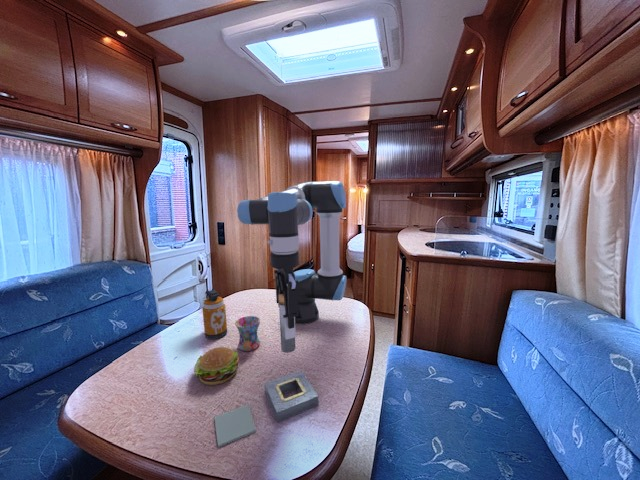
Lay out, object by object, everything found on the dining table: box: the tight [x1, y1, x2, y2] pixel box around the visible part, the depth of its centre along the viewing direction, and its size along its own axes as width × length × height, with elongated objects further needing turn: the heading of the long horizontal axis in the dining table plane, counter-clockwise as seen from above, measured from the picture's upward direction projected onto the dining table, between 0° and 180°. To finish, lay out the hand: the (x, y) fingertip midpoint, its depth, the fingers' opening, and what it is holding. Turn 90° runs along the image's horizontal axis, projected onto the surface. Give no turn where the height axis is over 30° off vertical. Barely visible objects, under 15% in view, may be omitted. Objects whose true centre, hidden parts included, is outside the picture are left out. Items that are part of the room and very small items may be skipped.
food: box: [193, 346, 240, 386], centre depth 85 cm, size 14×14×8 cm
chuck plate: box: [264, 370, 319, 423], centre depth 75 cm, size 12×12×3 cm
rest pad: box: [214, 404, 257, 448], centre depth 66 cm, size 9×9×1 cm
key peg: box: [278, 293, 296, 354], centre depth 71 cm, size 4×4×16 cm
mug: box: [234, 315, 261, 352], centre depth 102 cm, size 12×9×11 cm
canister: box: [201, 288, 228, 340], centre depth 110 cm, size 9×11×20 cm
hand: (287, 333), depth 71 cm, fingers closed on key peg, 4 cm apart
